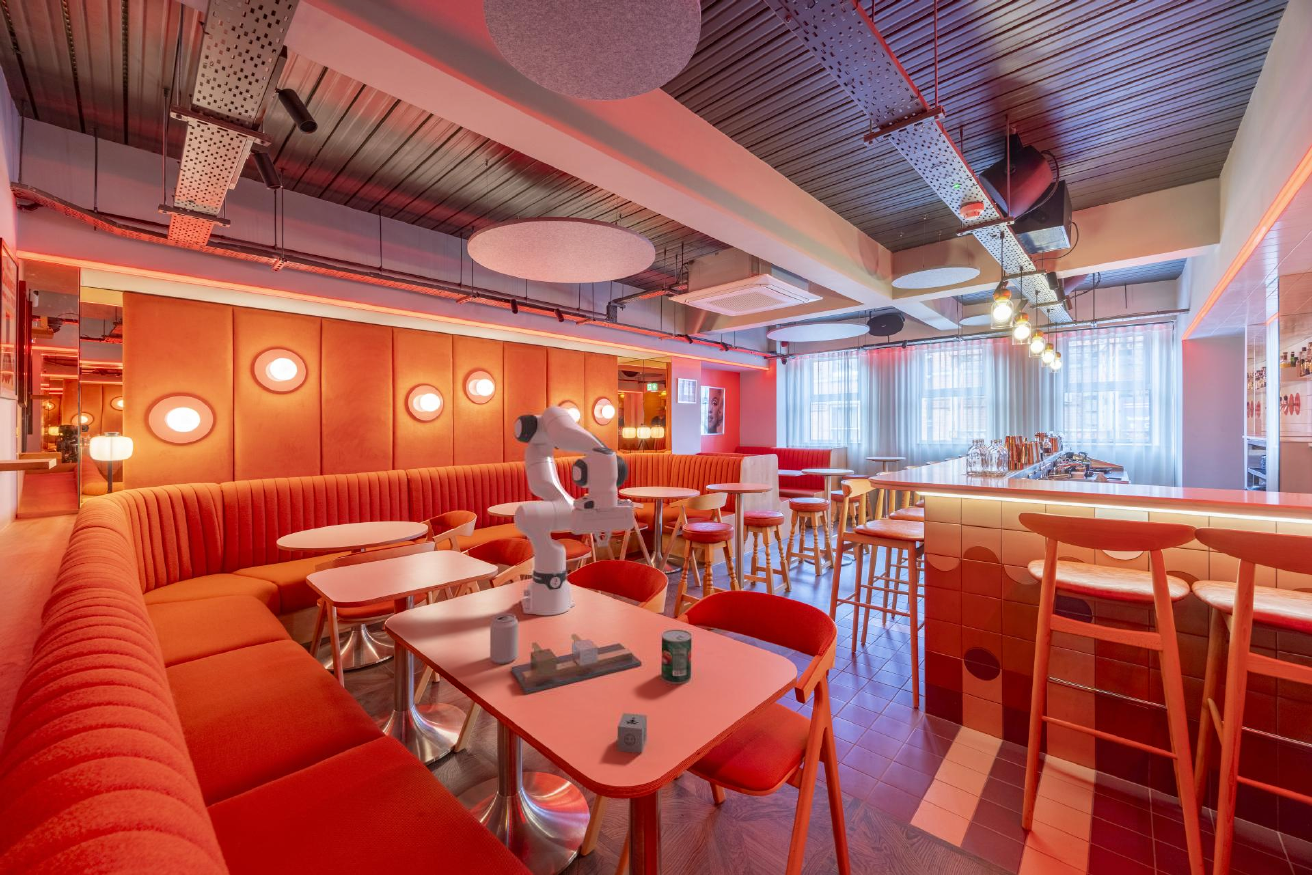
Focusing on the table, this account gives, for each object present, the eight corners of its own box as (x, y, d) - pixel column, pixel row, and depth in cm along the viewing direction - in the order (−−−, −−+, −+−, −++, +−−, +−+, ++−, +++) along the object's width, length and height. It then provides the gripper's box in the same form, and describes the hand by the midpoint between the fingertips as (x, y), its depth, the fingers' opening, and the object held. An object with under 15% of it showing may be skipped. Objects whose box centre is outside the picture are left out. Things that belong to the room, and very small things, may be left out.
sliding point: (564, 654, 144) (565, 635, 143) (581, 650, 146) (581, 632, 146) (579, 671, 134) (580, 650, 133) (597, 667, 136) (597, 646, 136)
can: (509, 650, 149) (509, 609, 149) (522, 659, 144) (523, 616, 143) (485, 658, 144) (485, 616, 143) (498, 667, 138) (498, 623, 138)
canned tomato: (655, 675, 135) (655, 633, 135) (678, 666, 140) (678, 626, 140) (674, 687, 129) (674, 643, 128) (697, 678, 133) (698, 636, 133)
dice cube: (617, 750, 103) (617, 726, 103) (623, 736, 108) (623, 712, 108) (641, 753, 102) (642, 728, 102) (646, 738, 107) (646, 715, 107)
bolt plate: (511, 670, 137) (511, 646, 137) (619, 646, 152) (619, 624, 152) (525, 694, 124) (525, 667, 124) (641, 665, 140) (641, 641, 140)
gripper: (628, 497, 164) (628, 540, 164) (567, 501, 153) (567, 547, 154) (638, 500, 158) (637, 544, 158) (575, 504, 148) (575, 552, 148)
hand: (602, 546), depth 156 cm, fingers closed
